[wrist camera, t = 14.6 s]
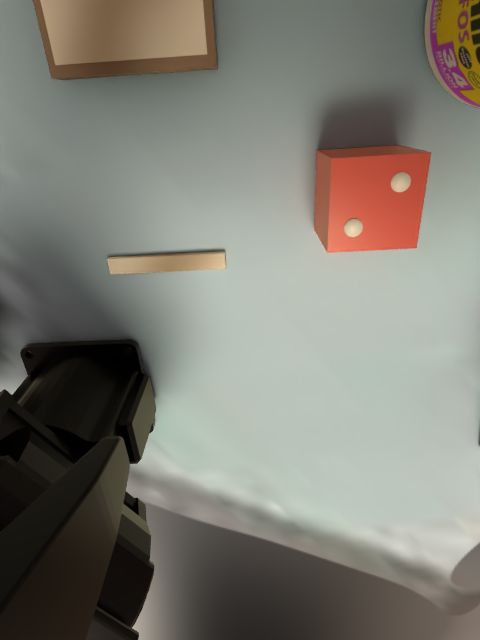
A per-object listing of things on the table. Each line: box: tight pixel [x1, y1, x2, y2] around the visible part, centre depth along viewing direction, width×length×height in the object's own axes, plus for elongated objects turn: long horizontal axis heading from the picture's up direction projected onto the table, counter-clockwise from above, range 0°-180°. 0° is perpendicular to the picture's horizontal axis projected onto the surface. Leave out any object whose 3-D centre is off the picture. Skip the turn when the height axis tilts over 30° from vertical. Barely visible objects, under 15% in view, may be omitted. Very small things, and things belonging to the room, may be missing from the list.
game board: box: [33, 0, 226, 274], centre depth 15 cm, size 6×20×1 cm, turn 3°
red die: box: [314, 145, 431, 253], centre depth 16 cm, size 4×4×4 cm
